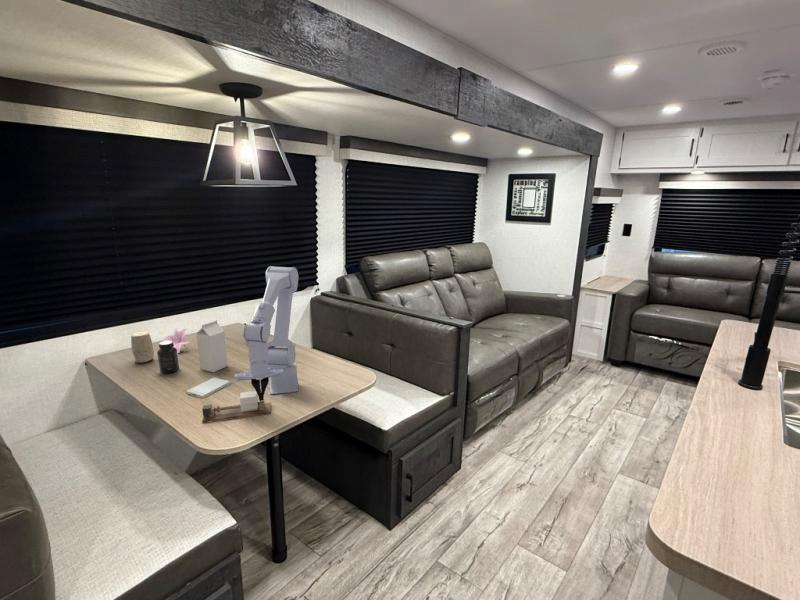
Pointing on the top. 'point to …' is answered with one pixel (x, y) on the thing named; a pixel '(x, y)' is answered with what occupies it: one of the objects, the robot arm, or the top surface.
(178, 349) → the lily
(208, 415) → the cord rail
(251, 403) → the white rounded cube
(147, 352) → the cream barrel-shaped cylinder
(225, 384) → the hard drive
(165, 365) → the supplement bottle
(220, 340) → the milk carton
